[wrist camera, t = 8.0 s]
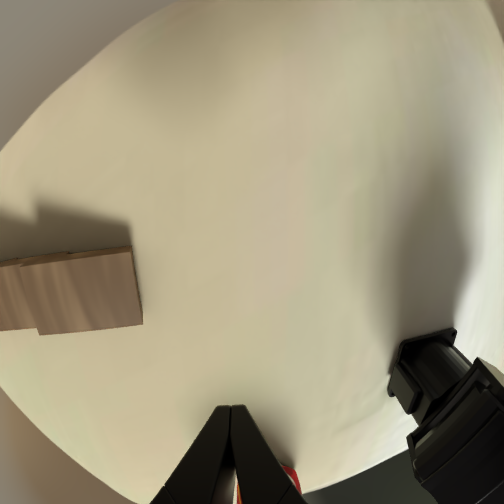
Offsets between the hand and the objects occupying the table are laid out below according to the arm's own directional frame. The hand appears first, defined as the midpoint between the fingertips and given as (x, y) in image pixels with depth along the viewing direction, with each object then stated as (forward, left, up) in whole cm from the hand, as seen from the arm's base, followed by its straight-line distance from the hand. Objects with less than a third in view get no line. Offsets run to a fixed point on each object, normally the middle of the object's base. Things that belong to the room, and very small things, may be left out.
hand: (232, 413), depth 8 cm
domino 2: (+7, 0, -11) cm, 13 cm away
